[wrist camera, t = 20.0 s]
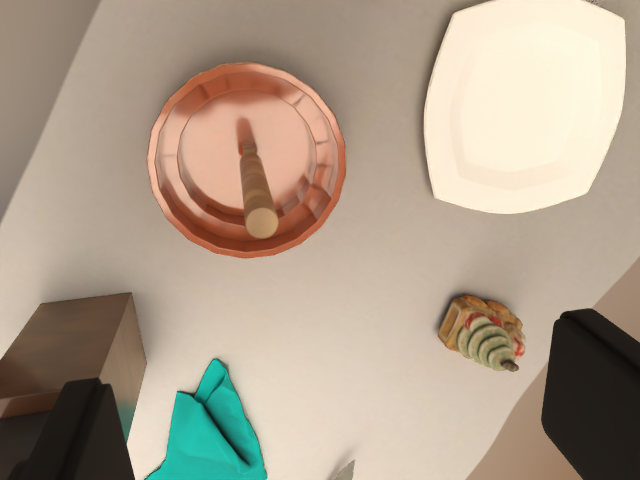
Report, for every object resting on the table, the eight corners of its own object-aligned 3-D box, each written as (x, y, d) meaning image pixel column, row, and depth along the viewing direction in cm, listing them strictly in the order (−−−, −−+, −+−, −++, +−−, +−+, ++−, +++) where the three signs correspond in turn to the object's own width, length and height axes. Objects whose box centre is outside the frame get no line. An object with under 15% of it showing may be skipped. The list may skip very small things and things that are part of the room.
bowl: (172, 243, 46) (165, 267, 41) (142, 67, 41) (130, 71, 36) (336, 225, 48) (348, 246, 43) (328, 56, 43) (342, 57, 38)
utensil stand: (61, 376, 49) (-64, 626, 28) (40, 303, 46) (-117, 521, 25) (146, 364, 50) (88, 597, 29) (131, 292, 47) (54, 493, 26)
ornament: (513, 299, 55) (571, 351, 46) (493, 348, 57) (545, 406, 48) (447, 288, 53) (493, 339, 44) (429, 339, 55) (469, 398, 46)
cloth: (214, 560, 61) (213, 579, 59) (100, 535, 57) (95, 554, 55) (317, 393, 55) (320, 407, 53) (198, 351, 51) (196, 364, 49)
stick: (240, 170, 44) (247, 245, 28) (237, 142, 44) (242, 203, 27) (260, 168, 45) (280, 241, 28) (258, 141, 44) (276, 200, 27)
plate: (632, -2, 45) (649, -4, 44) (586, 205, 52) (599, 211, 50) (427, -11, 42) (436, -14, 40) (407, 211, 49) (414, 217, 47)
